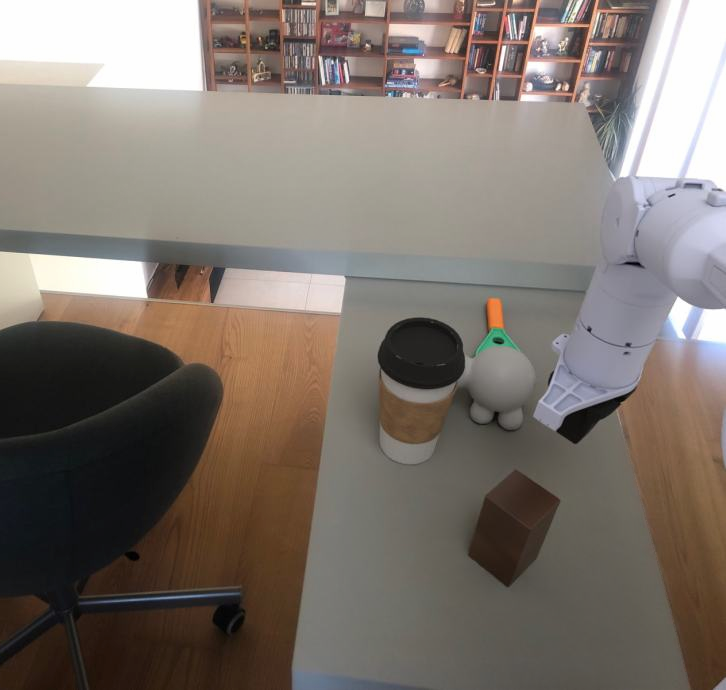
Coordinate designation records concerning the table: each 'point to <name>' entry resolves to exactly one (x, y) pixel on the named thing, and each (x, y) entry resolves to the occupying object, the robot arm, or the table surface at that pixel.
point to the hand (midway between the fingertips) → (569, 434)
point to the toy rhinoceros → (498, 385)
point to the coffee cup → (416, 386)
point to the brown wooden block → (512, 526)
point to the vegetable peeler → (495, 327)
